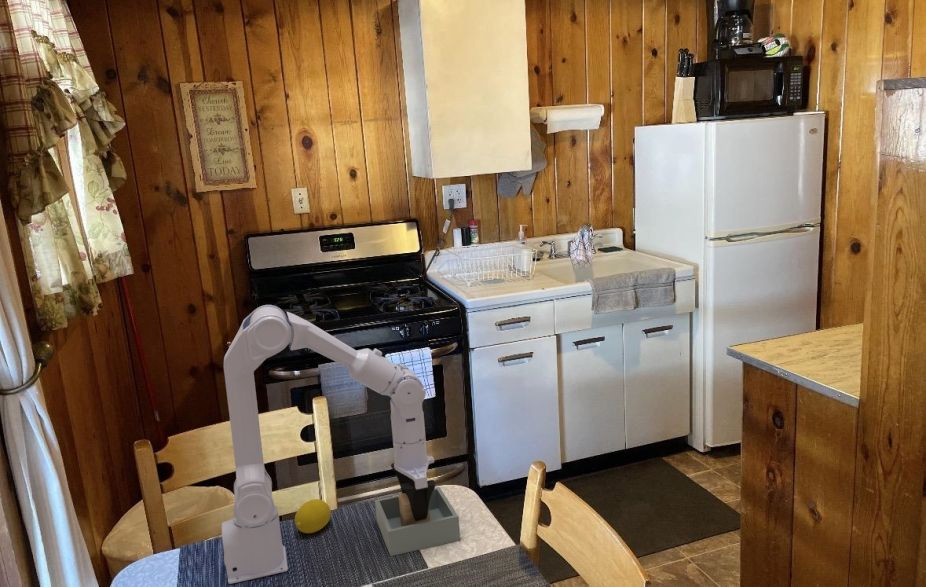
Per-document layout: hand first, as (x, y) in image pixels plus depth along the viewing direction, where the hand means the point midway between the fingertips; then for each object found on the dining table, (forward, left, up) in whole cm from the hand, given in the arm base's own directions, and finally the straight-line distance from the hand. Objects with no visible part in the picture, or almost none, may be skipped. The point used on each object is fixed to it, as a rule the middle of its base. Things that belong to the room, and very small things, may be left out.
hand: (415, 509), depth 127 cm
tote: (0, 0, -4) cm, 4 cm away
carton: (0, 0, -4) cm, 4 cm away
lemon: (-14, +11, -2) cm, 18 cm away
